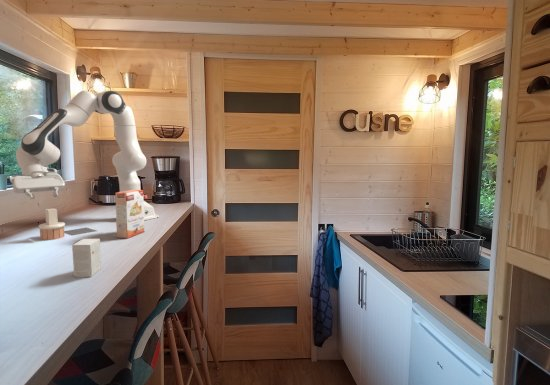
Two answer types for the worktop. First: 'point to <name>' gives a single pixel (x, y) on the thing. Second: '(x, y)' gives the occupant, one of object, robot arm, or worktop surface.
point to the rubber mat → (79, 231)
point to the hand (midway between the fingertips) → (44, 197)
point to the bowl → (52, 234)
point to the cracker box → (129, 213)
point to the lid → (51, 220)
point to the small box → (86, 257)
